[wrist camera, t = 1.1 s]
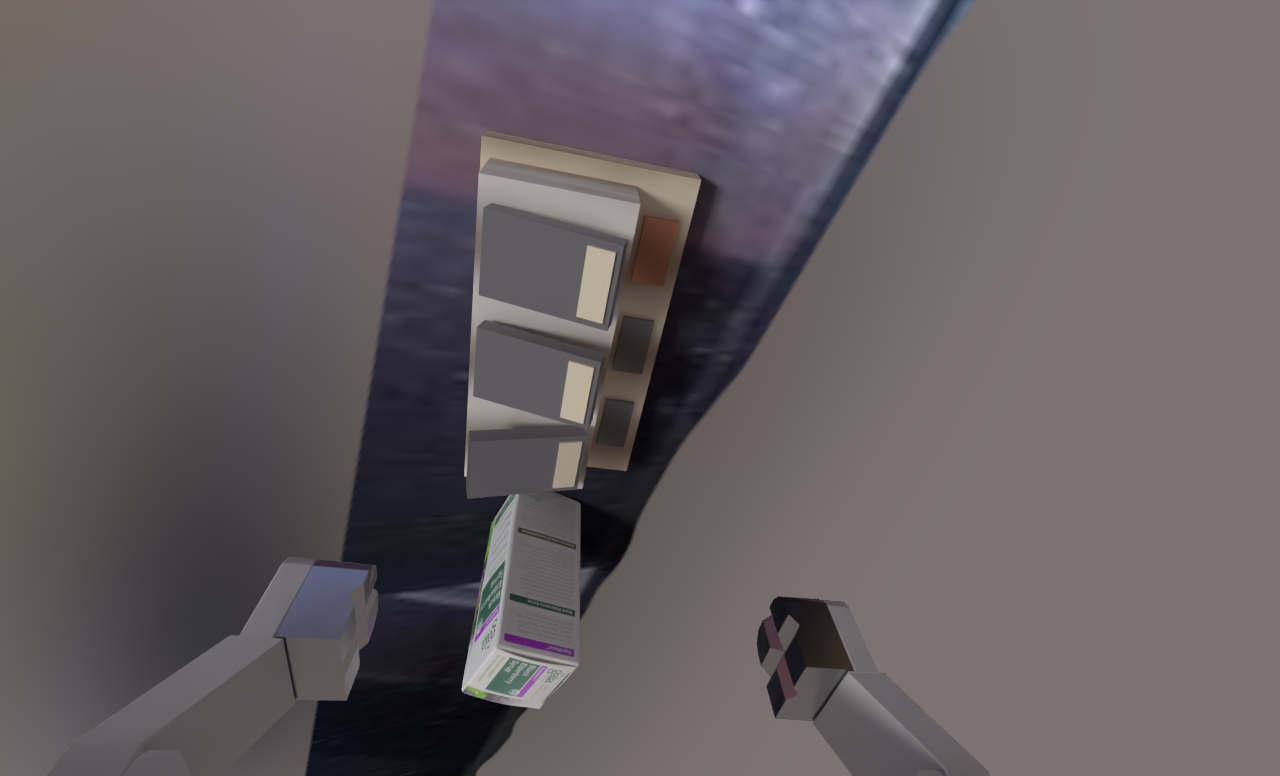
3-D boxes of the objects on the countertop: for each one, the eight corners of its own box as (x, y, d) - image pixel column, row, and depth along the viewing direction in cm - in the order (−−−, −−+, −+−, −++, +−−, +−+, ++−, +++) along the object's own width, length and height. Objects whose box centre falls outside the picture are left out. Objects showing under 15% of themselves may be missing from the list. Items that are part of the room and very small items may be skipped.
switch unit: (486, 130, 31) (465, 153, 26) (697, 173, 33) (714, 202, 28) (469, 439, 42) (453, 495, 38) (625, 457, 44) (628, 512, 40)
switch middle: (484, 319, 31) (475, 328, 30) (605, 353, 31) (600, 363, 30) (480, 387, 34) (472, 397, 33) (592, 420, 33) (587, 431, 32)
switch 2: (469, 430, 33) (470, 443, 32) (583, 425, 36) (588, 437, 35) (466, 487, 36) (467, 500, 35) (573, 478, 38) (577, 490, 37)
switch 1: (491, 202, 28) (482, 208, 27) (628, 239, 27) (623, 246, 26) (486, 288, 30) (477, 296, 29) (611, 323, 30) (606, 332, 29)
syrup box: (518, 477, 45) (490, 648, 33) (584, 501, 47) (579, 671, 35) (490, 522, 48) (455, 695, 36) (554, 542, 50) (540, 713, 38)
